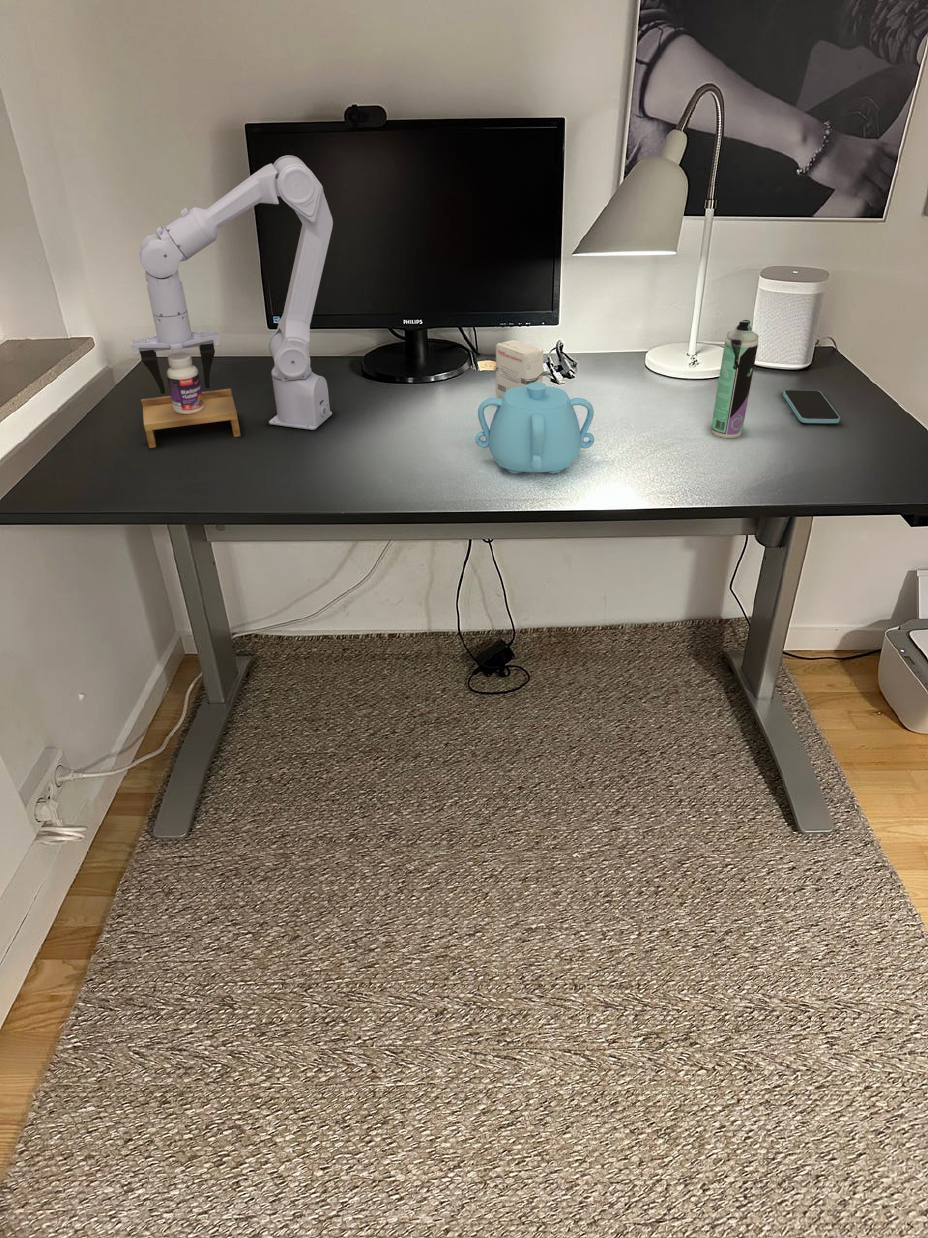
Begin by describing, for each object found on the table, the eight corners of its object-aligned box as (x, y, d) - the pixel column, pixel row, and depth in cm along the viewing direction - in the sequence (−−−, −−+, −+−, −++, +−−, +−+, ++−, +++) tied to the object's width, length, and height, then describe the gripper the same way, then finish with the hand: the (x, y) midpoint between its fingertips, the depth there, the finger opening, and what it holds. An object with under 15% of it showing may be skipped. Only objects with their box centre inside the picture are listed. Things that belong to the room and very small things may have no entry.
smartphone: (819, 390, 177) (841, 419, 164) (818, 395, 177) (840, 425, 165) (782, 389, 177) (801, 418, 165) (781, 394, 178) (800, 424, 165)
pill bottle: (187, 417, 160) (176, 363, 154) (167, 410, 163) (156, 357, 157) (211, 407, 164) (201, 354, 158) (191, 400, 166) (181, 348, 161)
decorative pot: (539, 433, 164) (542, 360, 156) (601, 464, 153) (607, 387, 145) (467, 458, 156) (466, 381, 148) (527, 492, 145) (529, 412, 138)
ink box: (543, 410, 172) (546, 348, 166) (524, 416, 170) (525, 355, 163) (513, 396, 178) (514, 337, 171) (493, 403, 175) (494, 342, 168)
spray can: (742, 439, 161) (763, 326, 149) (710, 437, 162) (728, 325, 150) (741, 426, 165) (761, 316, 154) (710, 424, 166) (727, 314, 154)
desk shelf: (235, 417, 171) (230, 388, 168) (240, 436, 164) (235, 406, 161) (147, 428, 167) (141, 398, 164) (149, 448, 160) (142, 417, 157)
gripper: (125, 323, 148) (143, 402, 156) (215, 314, 152) (228, 391, 160) (125, 310, 154) (142, 387, 162) (212, 302, 157) (225, 378, 165)
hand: (185, 388), depth 161 cm, fingers open, 7 cm apart
